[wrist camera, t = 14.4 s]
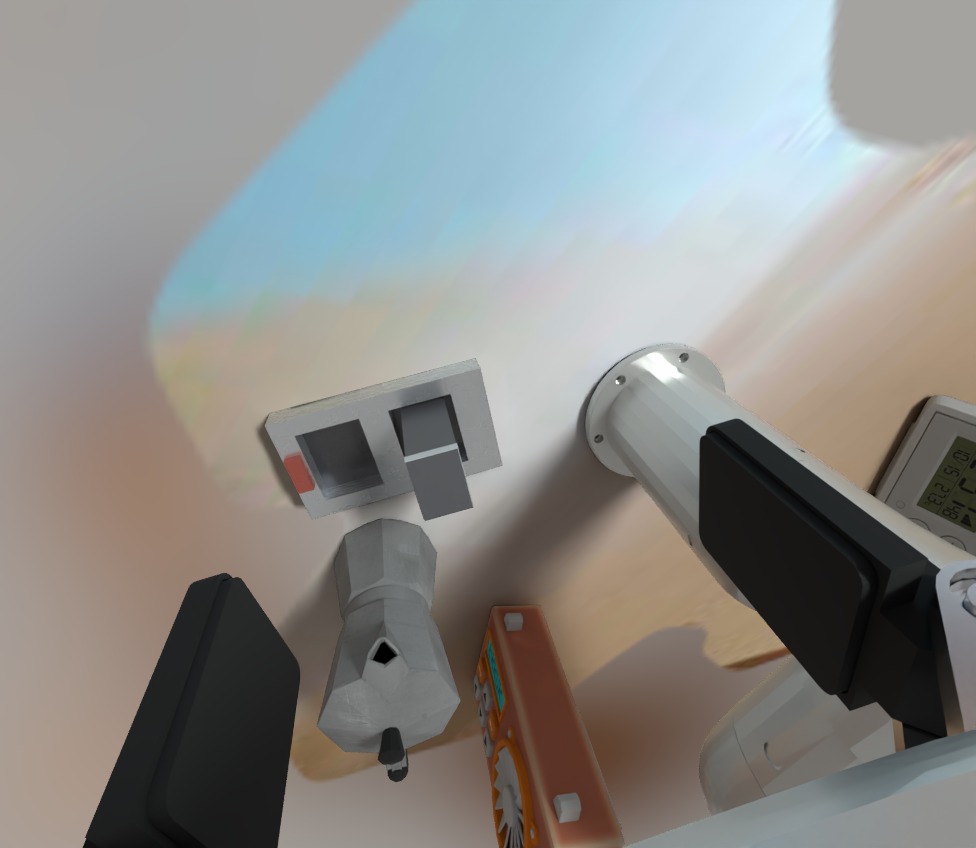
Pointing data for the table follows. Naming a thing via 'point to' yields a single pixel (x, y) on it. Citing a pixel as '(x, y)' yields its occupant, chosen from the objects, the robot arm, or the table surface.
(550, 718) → the control panel
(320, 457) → the power strip
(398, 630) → the coffeepot
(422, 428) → the plug
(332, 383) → the table surface
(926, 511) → the digital clock
